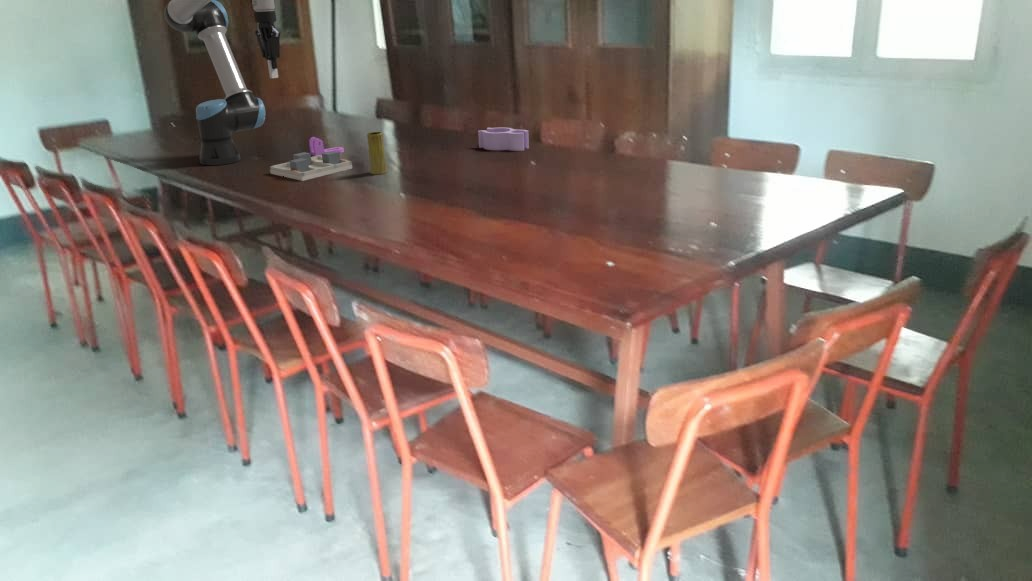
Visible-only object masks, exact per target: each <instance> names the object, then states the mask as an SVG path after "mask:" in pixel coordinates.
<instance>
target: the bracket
mask: <svg viewBox="0 0 1032 581" xmlns="http://www.w3.org/2000/svg"><path fill="white" fill-rule="evenodd" d="M308 142H309V143H308V146H309V153H310V154H311V156H312V157H314V156H318V155H321V156H322V153H327V152H331V151H335V152H339V154H341V153H344V152H345V150H344V147H341V146H340V147H339V146H335V147H330V148H325V147H324V142H323V140H322V139H321V138H319V137H318V138H317V137H316V136H312V137H310V138H309V140H308Z"/></svg>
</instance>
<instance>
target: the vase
mask: <svg viewBox="0 0 1032 581" xmlns="http://www.w3.org/2000/svg"><path fill="white" fill-rule="evenodd" d="M366 135H367V145H368V158H369V167H370V168H369V169H370V170H369V172H370V174H371V175H385V174H387V172H388V168H387V161H386V160H387V159H386V154H385V146H384V136H383V132H382V131H372V132H367V134H366Z"/></svg>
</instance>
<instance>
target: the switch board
mask: <svg viewBox="0 0 1032 581" xmlns="http://www.w3.org/2000/svg"><path fill="white" fill-rule="evenodd" d="M311 161H312V164H310V165H309V171H305V172H300V171H296V170H291V168H290V162H289V161H287V162H284V163H278V164H273V165H270V166H269V172H270V174H271V175H275V176H279V177H283V176H284V177H283V178H288V179H293V180H297V181H301V182H302V181H303V182H304V181H307V180H312V179H316V178H320V177H324V176H327V175H332V174H335V173H340V172H344V171H347V170H351V169H353V162H352V161H351V160H348V159H345V158H344V159H343V158H340V162H341V163H338V164H329V163H324V162H323V160H322V156H321V155H318V156H311Z"/></svg>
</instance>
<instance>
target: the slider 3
mask: <svg viewBox="0 0 1032 581" xmlns="http://www.w3.org/2000/svg"><path fill="white" fill-rule="evenodd" d="M340 154H341V153H339V152H335V151H331V152H327V153H322V160H323V162H324V163H329V164H338V163H341V162H340V159H341V156H340Z"/></svg>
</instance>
